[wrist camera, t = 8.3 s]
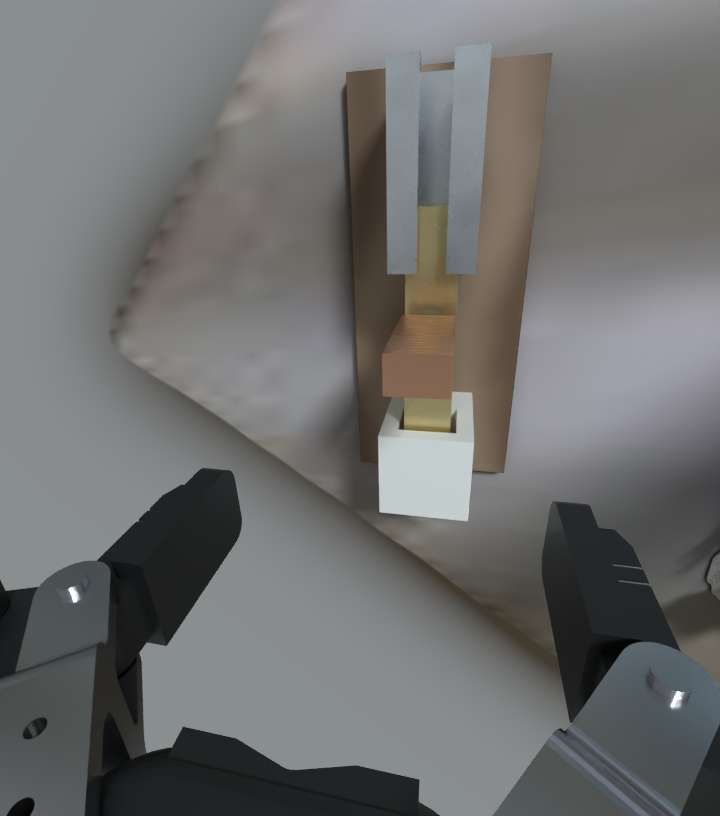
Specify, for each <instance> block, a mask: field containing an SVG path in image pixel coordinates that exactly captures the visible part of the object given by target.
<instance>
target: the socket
mask: <svg viewBox="0 0 720 816" xmlns="http://www.w3.org/2000/svg"><path fill="white" fill-rule="evenodd" d="M473 451H474V425H473V399H472V393H468V392H452V407H451V425H450V433H443V432H427V431H412V430H404V397H392V399H391V401H390V404H389V407H388V410H387V413H386V415H385V418H384V421H383V424H382V427H381V429H380V432H379V435H378V459H379V510H380V512H382V513H392V514H402V515H411V516H421V517H431V518H441V519H451V520H461V521H468V513H469V501H470V489H471V476H472V464H473Z"/></svg>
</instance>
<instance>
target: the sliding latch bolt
mask: <svg viewBox="0 0 720 816" xmlns="http://www.w3.org/2000/svg"><path fill="white" fill-rule="evenodd" d="M447 228H448V205H430V206H418V248H417V273H416V274H405V315H402V316H401V317H400V319H399V321H398V323H397V325H396V327H395V329H394V331H393V333H392V335H391V337H390V339H389V341H388V343H387V344H386V346H385V348H384V350H383V352H382V391H383V396H387V397H404V430H412V431H427V432H443V433H450V425H451V407H452V388H453V370H454V352H455V334H456V316H457V298H458V279H459V274H446V251H447Z"/></svg>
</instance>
